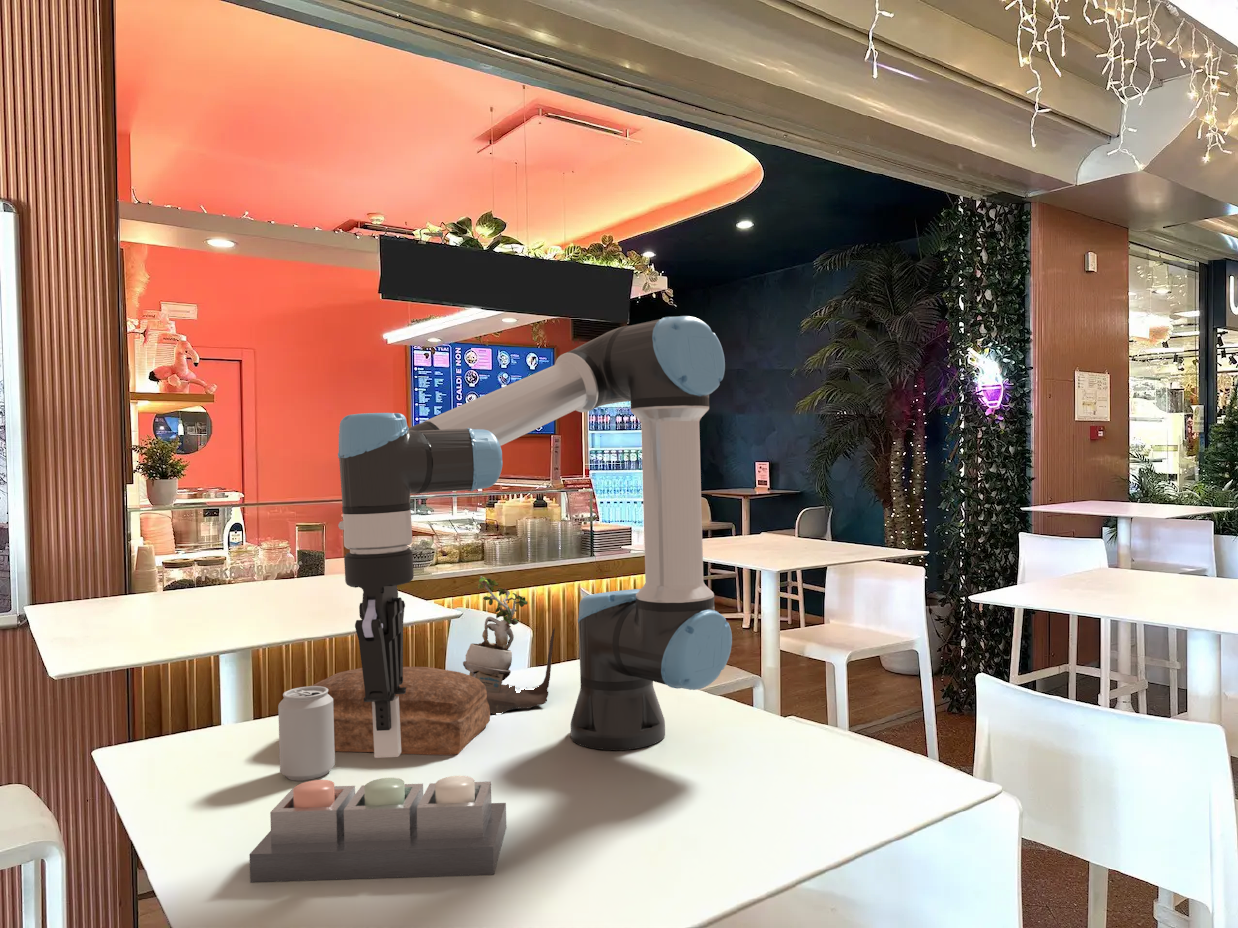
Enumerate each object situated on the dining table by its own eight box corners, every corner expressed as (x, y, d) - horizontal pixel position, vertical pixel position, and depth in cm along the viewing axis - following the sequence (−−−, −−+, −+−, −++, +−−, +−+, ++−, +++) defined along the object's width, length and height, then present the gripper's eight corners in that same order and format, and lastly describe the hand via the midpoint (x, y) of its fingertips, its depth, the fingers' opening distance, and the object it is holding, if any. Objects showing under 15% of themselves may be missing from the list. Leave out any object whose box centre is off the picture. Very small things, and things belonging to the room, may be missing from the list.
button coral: (340, 817, 102) (339, 779, 102) (328, 833, 98) (327, 793, 98) (302, 818, 102) (301, 780, 102) (288, 835, 98) (287, 794, 97)
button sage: (409, 815, 102) (408, 776, 102) (400, 831, 98) (399, 791, 98) (371, 816, 102) (370, 778, 102) (360, 832, 98) (359, 792, 98)
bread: (333, 720, 153) (332, 655, 153) (495, 725, 148) (494, 657, 148) (280, 753, 137) (278, 679, 136) (460, 759, 132) (459, 683, 132)
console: (506, 827, 106) (505, 773, 106) (493, 874, 94) (492, 813, 94) (290, 834, 106) (289, 780, 106) (250, 882, 94) (248, 821, 94)
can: (317, 783, 122) (315, 698, 122) (269, 781, 124) (266, 696, 124) (344, 765, 130) (342, 684, 129) (298, 762, 131) (296, 682, 131)
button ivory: (478, 813, 102) (477, 774, 102) (472, 829, 98) (471, 789, 98) (440, 814, 102) (439, 776, 102) (432, 830, 98) (431, 790, 98)
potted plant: (443, 702, 172) (474, 576, 176) (537, 721, 173) (565, 596, 178) (434, 712, 152) (469, 571, 157) (540, 734, 154) (571, 594, 158)
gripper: (361, 544, 106) (370, 737, 107) (327, 557, 93) (337, 777, 94) (423, 541, 106) (432, 734, 107) (397, 554, 93) (408, 774, 94)
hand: (388, 754), depth 100 cm, fingers closed
